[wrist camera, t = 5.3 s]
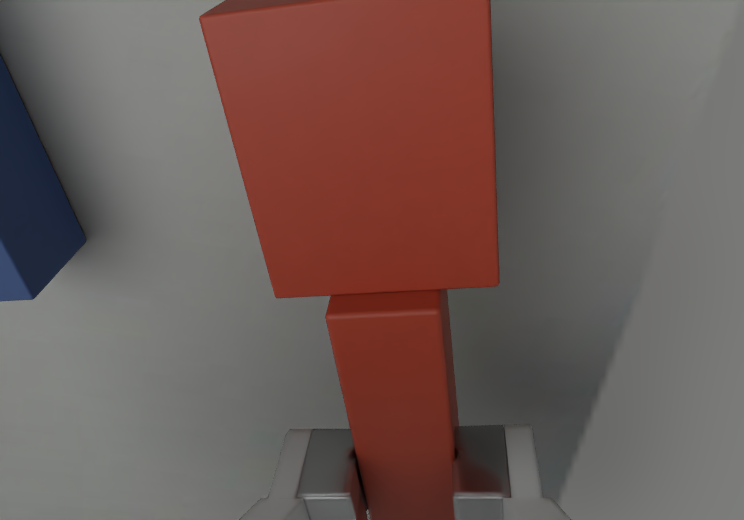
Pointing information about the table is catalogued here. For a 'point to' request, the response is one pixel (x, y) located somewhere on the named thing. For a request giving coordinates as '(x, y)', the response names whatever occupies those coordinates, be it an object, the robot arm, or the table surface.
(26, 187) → the blue stepped bar
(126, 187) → the table surface
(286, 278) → the red stepped bar
